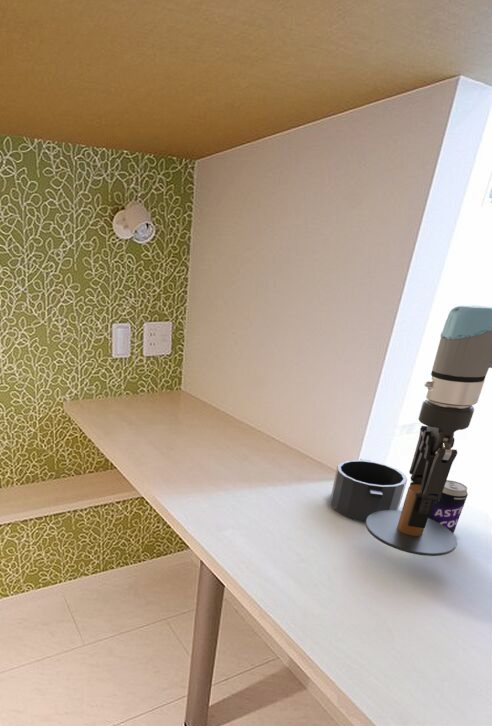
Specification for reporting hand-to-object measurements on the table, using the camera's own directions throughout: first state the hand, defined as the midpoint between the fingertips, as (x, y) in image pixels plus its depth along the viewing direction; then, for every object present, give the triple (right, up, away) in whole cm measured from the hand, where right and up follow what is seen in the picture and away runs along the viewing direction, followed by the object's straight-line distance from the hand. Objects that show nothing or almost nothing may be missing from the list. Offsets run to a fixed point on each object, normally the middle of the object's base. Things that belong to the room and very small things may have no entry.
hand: (413, 519), depth 84 cm
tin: (+1, +1, +21) cm, 21 cm away
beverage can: (+12, -5, +11) cm, 17 cm away
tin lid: (0, -3, +1) cm, 3 cm away
